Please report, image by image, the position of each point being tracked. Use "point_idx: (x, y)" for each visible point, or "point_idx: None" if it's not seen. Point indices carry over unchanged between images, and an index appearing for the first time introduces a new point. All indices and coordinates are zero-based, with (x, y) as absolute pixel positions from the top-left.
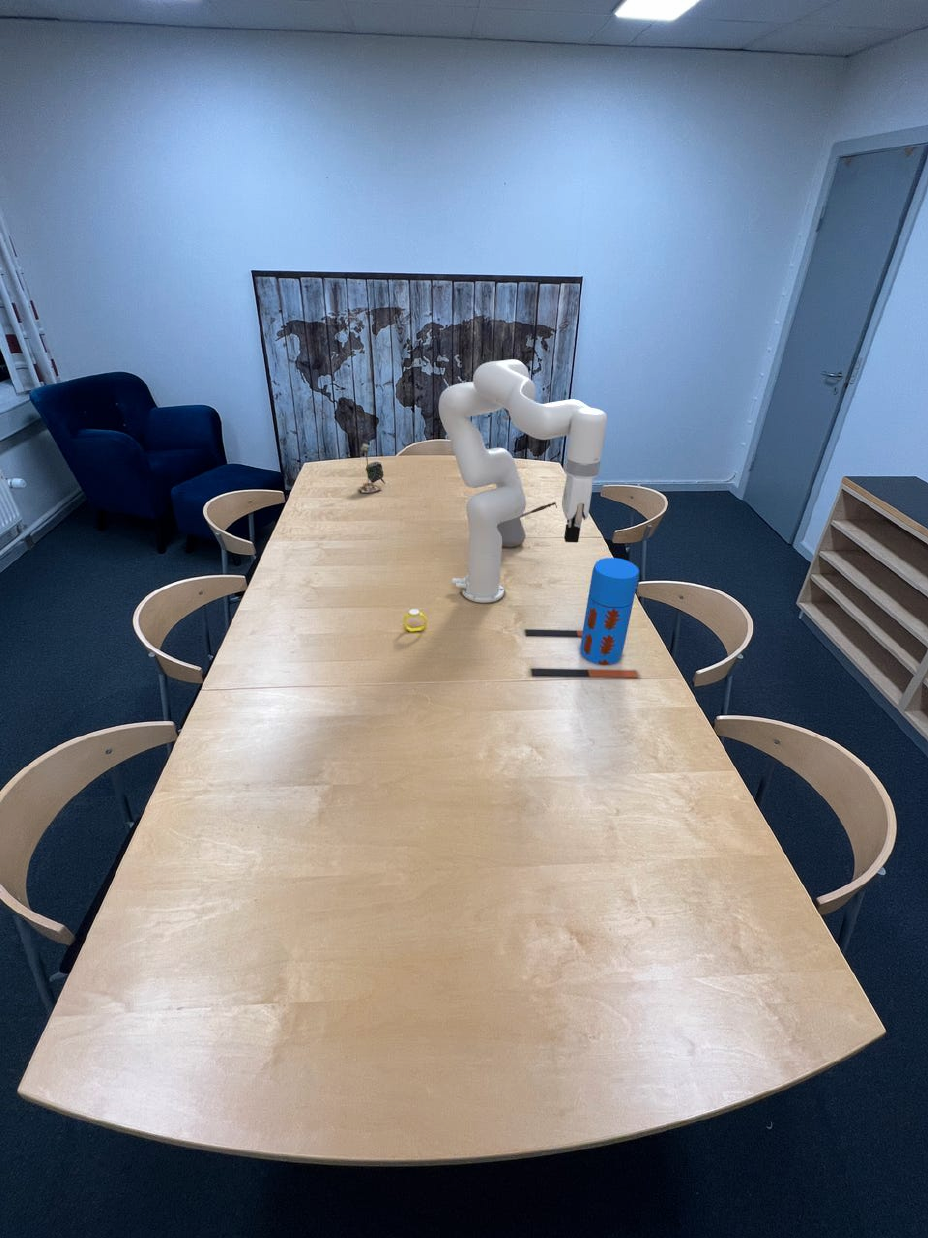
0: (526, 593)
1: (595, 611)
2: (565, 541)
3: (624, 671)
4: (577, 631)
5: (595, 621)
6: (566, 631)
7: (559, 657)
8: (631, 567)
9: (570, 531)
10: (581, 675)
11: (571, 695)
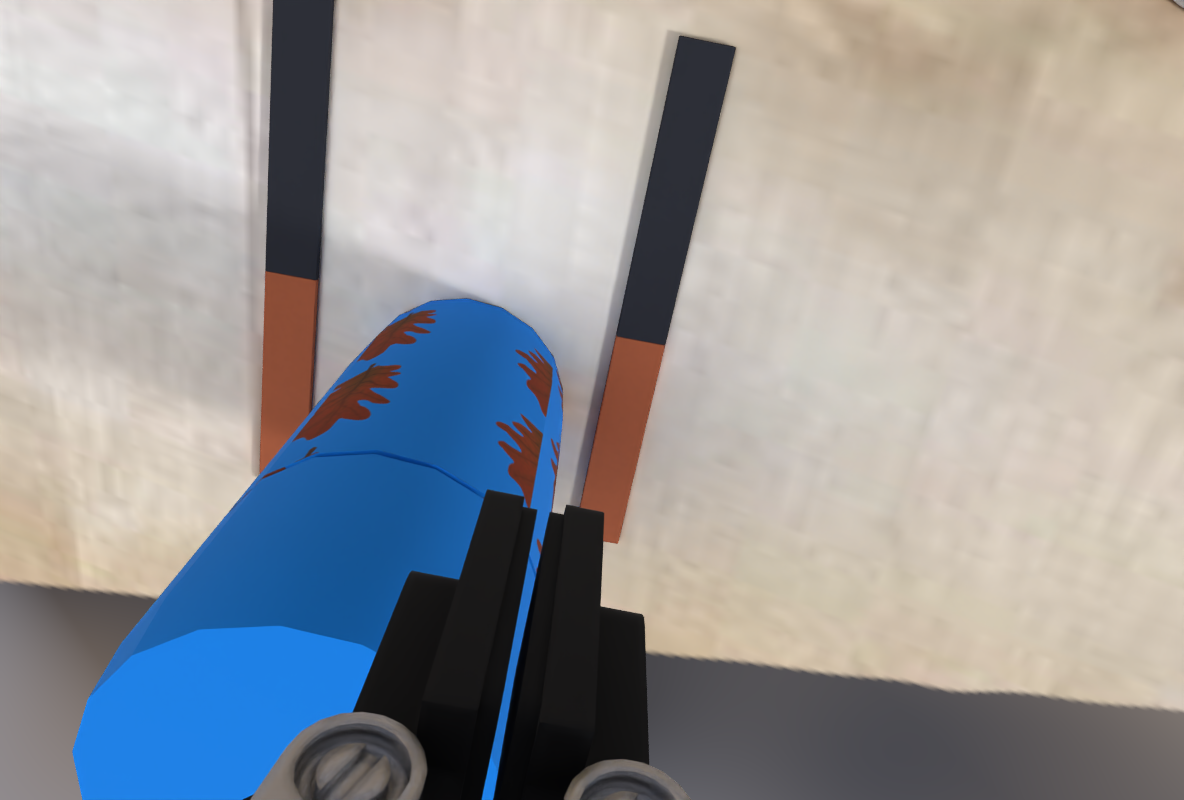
0: (1145, 184)
1: (305, 437)
2: (486, 493)
3: None
4: (655, 347)
5: (316, 410)
6: (665, 289)
7: (443, 172)
8: None
9: (366, 687)
10: (268, 232)
11: (118, 126)
